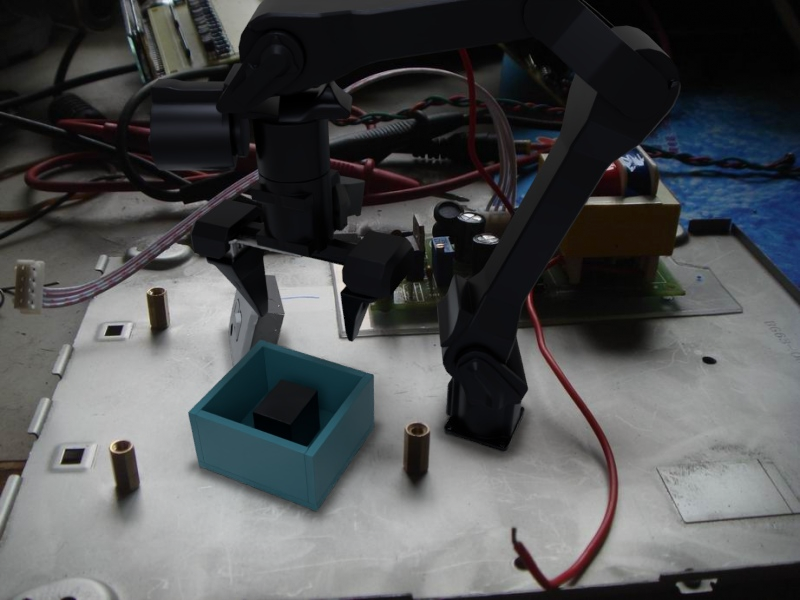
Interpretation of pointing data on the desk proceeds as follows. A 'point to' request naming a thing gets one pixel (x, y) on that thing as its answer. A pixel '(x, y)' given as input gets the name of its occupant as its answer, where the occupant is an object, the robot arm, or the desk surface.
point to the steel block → (289, 413)
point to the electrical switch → (254, 322)
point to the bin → (273, 456)
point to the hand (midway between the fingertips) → (307, 326)
